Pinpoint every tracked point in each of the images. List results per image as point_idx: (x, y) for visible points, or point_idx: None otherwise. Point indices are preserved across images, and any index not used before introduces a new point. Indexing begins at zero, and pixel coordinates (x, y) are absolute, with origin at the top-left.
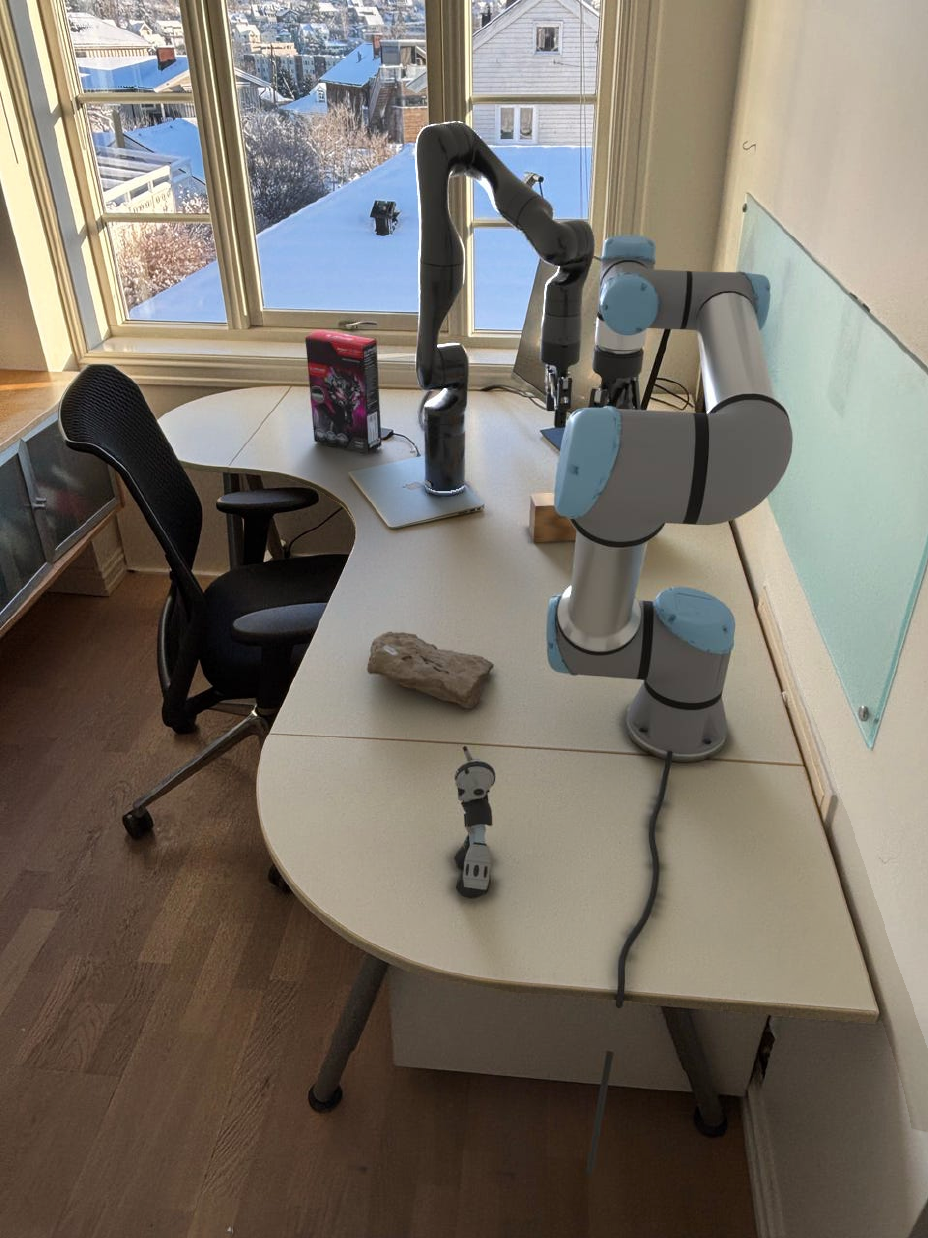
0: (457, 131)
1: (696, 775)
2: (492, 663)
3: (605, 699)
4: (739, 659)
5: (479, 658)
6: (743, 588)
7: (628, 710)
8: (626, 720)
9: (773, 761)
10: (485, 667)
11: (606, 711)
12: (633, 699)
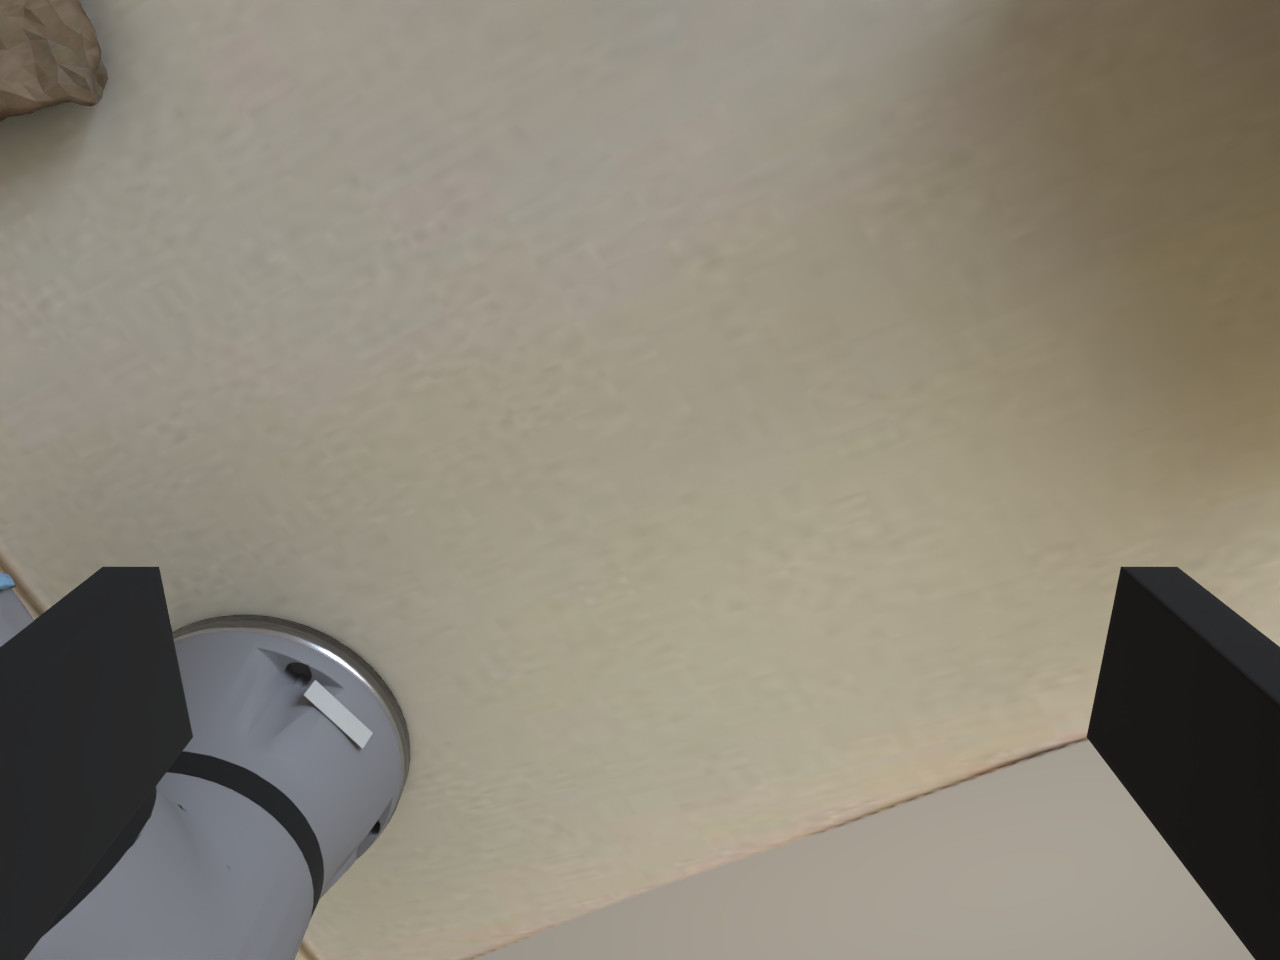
0: None
1: None
2: (89, 96)
3: (262, 526)
4: (707, 789)
5: (54, 32)
6: None
7: (180, 646)
8: (175, 635)
9: (315, 954)
10: (30, 89)
11: (210, 551)
12: (190, 666)
